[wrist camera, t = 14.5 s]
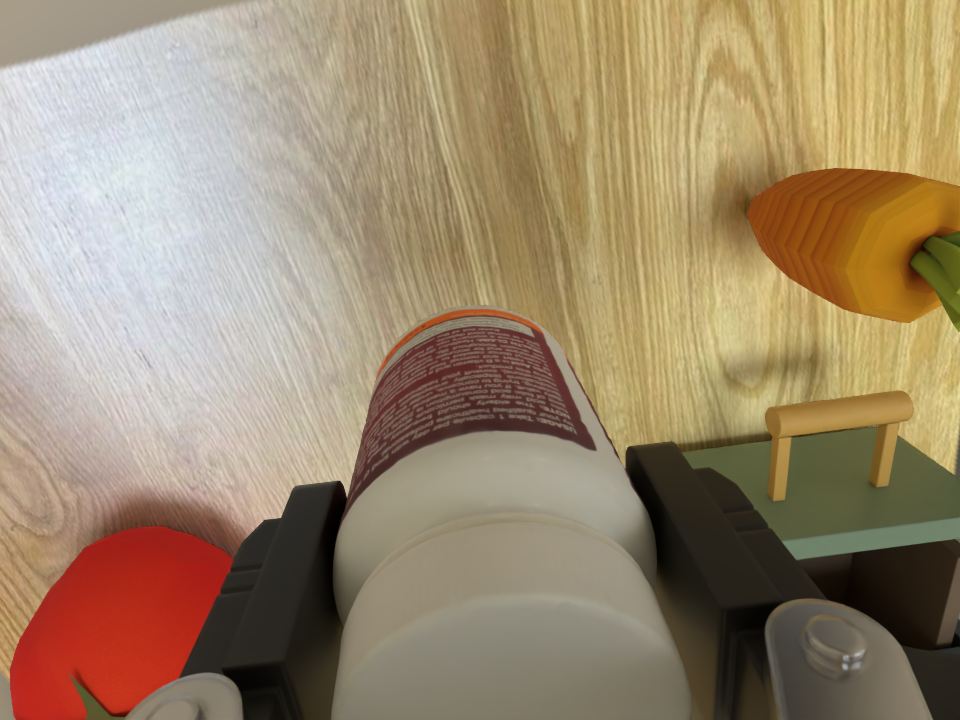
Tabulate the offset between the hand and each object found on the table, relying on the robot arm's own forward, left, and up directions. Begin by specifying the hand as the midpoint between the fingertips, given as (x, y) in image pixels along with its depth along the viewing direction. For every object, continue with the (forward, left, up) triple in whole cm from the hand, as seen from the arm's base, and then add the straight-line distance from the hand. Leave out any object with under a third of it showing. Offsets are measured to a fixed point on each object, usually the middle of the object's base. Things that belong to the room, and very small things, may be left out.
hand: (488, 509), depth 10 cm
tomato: (+25, +5, -21) cm, 33 cm away
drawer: (-5, +23, -19) cm, 30 cm away
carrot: (-13, +7, -21) cm, 25 cm away
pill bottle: (0, 0, -5) cm, 5 cm away
